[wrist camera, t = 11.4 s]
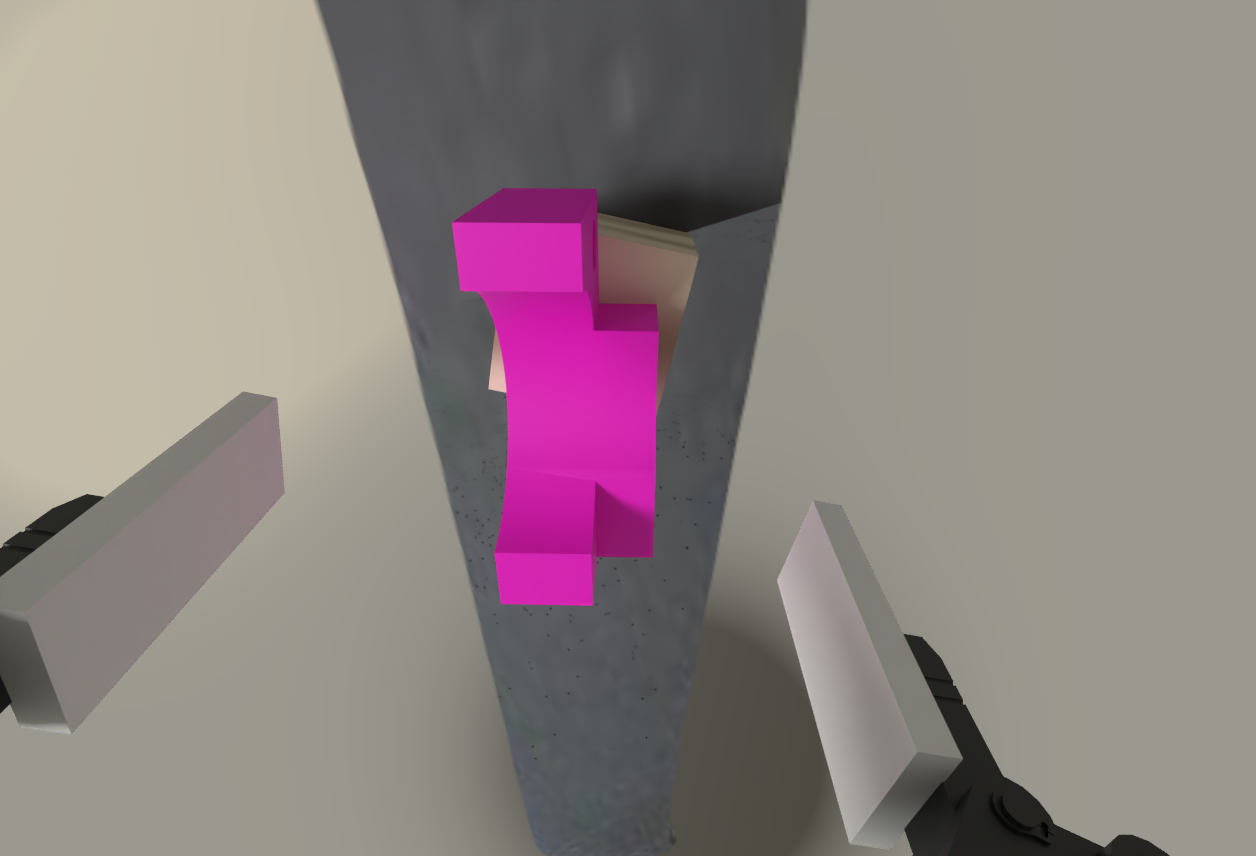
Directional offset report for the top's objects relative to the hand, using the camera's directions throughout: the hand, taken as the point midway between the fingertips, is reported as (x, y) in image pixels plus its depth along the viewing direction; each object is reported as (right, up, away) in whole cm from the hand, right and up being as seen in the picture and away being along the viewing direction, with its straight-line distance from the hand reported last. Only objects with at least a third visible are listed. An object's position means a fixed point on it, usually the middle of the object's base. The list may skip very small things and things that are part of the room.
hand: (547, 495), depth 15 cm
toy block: (0, +5, +13) cm, 14 cm away
